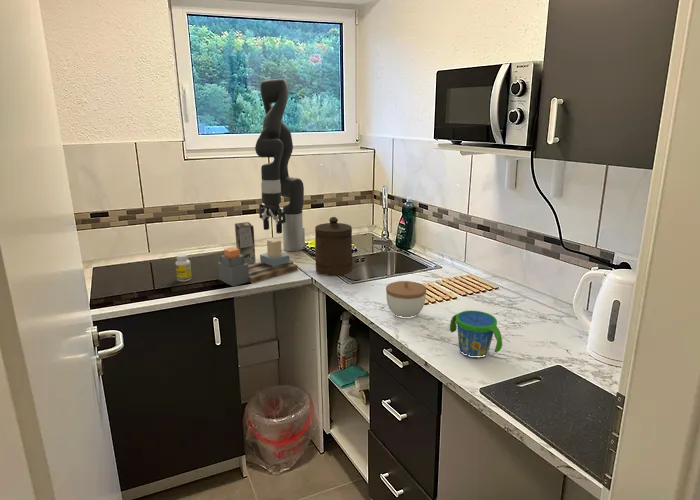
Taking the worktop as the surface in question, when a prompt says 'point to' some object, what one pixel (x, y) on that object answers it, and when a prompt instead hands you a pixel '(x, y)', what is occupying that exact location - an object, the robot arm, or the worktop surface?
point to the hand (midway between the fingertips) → (272, 231)
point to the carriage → (274, 254)
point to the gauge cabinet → (233, 270)
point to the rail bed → (268, 270)
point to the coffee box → (245, 241)
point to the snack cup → (476, 332)
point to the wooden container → (333, 248)
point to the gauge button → (231, 252)
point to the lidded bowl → (405, 298)
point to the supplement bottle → (183, 268)
